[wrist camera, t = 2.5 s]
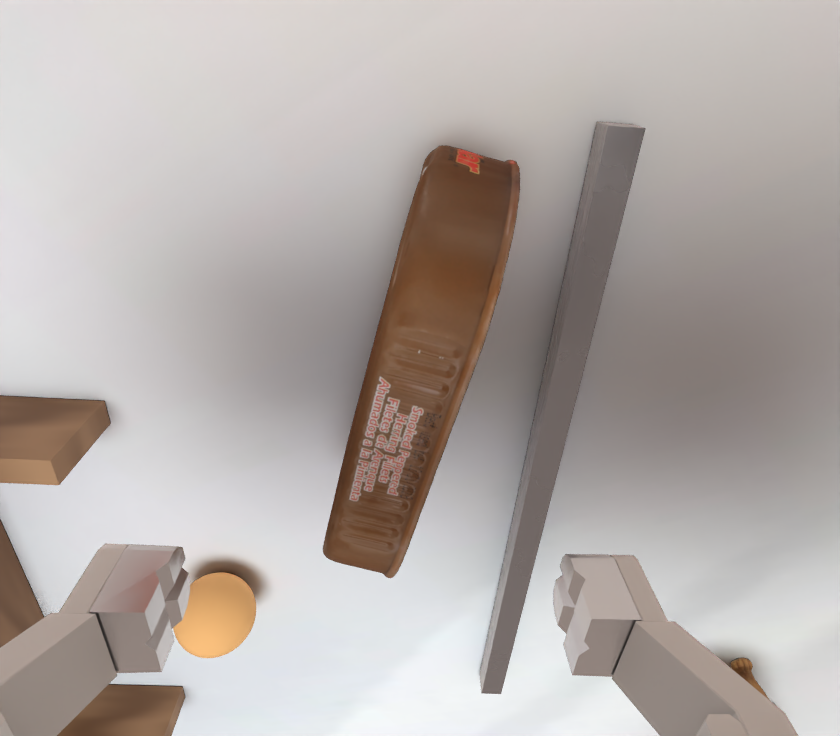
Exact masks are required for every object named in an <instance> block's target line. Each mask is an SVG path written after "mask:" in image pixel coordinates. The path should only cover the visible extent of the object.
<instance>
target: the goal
mask: <svg viewBox="0 0 840 736" xmlns="http://www.w3.org/2000/svg"><path fill="white" fill-rule="evenodd" d="M109 425H110V420H109V416H108V412H107V409H106V405H105V401H94V400H74V399H54V398H34V397H14V396H0V483H23V484H46V485H60V483H61V482H62V481H63V480H64V479H65V477H66V476H67V475H68V474H69V473H70V471H71V470H72V469H73V468H74V467H75V465H76V464H77V463H78V462H79V461H80V459H81V458H82V457H83V456H84V455H85V453H86V452H87V451H88V450H89V449H90V447H91V446H92V445H93V444H94V443H95V441H96V440H97V439H98V438H99V437H100V435H101V434H102V433H103V432H104V431H105V429H106V428H107V427H108V426H109ZM43 618H44V616H43V614H42V612H41V610H40V608H39V605H38V603H37V601H36V599H35V596H34V594H33V592H32V590H31V588H30V585H29V583H28V581H27V579H26V576H25V574H24V572H23V570H22V567H21V565H20V563H19V561H18V559H17V556H16V554H15V552H14V550H13V547H12V545H11V543H10V541H9V539H8V536H7V534H6V532H5V530H4V527H3V525H2V523H1V521H0V648H1V647H2V646H4V645H5V644H6V643H8V642H9V641H11V640H12V639H14V638H15V637H17V636H18V635H20V634H21V633H22V632H24V631H25V630H27V629H28V628H30V627H31V626H33V625H34V624H35V623H37V622H38V621H40V620H41V619H43ZM184 699H185V695H184V691H183V687H175V686H139V685H107V686H106V687H105V688H104V689H103V690H102V691H101V692H100V693H99V694H98V695H97V696H96V697H95V698H94V699H93V700H92V701H91V702H90V703H89V704H88V705H87V706H86V707H85V708H84V709H83V710H82V711H81V712H80V713H79V714H78V715H77V716H76V717H75V718H74V719H73V720H72V721H71V722H70V723H69V724H68V725H67V726H66V727H65V728H64V729H63V730H62V731H61V732H60V733H59V734H58V735H57V736H171V735H172V732H173V730H174V727H175V724H176V721H177V719H178V716H179V713H180V710H181V707H182V705H183V702H184Z"/></svg>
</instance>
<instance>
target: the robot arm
mask: <svg viewBox="0 0 840 736" xmlns="http://www.w3.org/2000/svg"><path fill="white" fill-rule="evenodd" d="M184 560H185V555H184V551H183V548H182V547H177V546H156V545H135V544H105V545H103V546H102V547H101V548H100V549H99V550H98V551H97V552H96V554H95V556H94V557H93V559H92V560H91V562H90V564H89V565H88V567H87V568H86V570H85V571H84V573H83V575H82V576H81V578H80V579H79V581H78V583H77V584H76V586H75V587H74V589H73V591H72V592H71V594H70V595H69V597H68V598H67V600H66V602H65V603H64V605H63V606H62V608H61V610H60V611H59V613H50V614H48V615H47V616H46V617H44V618H43V619H41V620H40V621H38V622H37V623H35V624H34V625H33V626H31V627H30V628H28V629H27V630H25V631H24V632H22V633H21V634H20V635H18V636H17V637H15V638H14V639H12V640H11V641H9V642H8V643H6V644H5V645H4V646H2V647H1V648H0V736H57V735H58V734H59V733H60V732H61V731H62V730H63V729H64V728H65V727H66V726H67V725H68V724H69V723H70V722H71V721H72V720H73V719H74V718H75V717H76V716H77V715H78V714H79V713H80V712H81V711H82V710H83V709H84V708H85V707H86V706H87V705H88V704H89V703H90V702H91V701H92V700H93V699H94V698H95V697H96V696H97V695H98V694H99V693H100V692H101V691H102V690H103V689H104V688H105V687H106V686H107V685H108V684H109V683H110V682H111V681H112V680H113V679H114V678H115V677H116V676H117V673H137V672H162V670H163V667H164V665H165V662H166V660H167V657H168V655H169V652H170V650H171V647H172V645H173V642H174V637H173V633H172V628H173V627H175V626H176V625H177V624H178V623H179V622H181V621H182V619H183V617H184V614H185V611H186V609H187V605H188V600H189V595H190V579H189V573H188V572H186V571H185V570H184V569H183V568H182V565H183V563H184ZM560 568H561V571H562V574H563V575H562V576H560V577H559V578H558V579H557V580H556V582H555V586H554V590H553V605H554V612H555V616H556V620H557V624H558V626H559V627H560V628H561V629H562V630H563V631H564V632H565V633H566V638H565V641H564V644H563V645H564V649H565V652H566V656H567V659H568V662H569V666H570V669H571V673H572V675H584V676H611V677H612V679H613V681H614V682H615V683H616V684H617V685H618V687H619V688H620V689H621V690H622V691H623V692H624V694H625V695H626V696H627V697H628V698H629V700H630V701H631V702H632V703H633V704H634V705H635V707H636V708H637V709H638V710H639V711H640V713H641V714H642V715H643V716H644V717H645V719H646V720H647V721H648V722H649V723H650V724H651V726H652V727H653V728H654V729H655V730H656V732H657V733H658V734H659V735H660V736H798V734H797V733H796V731H795V729H794V728H793V726H792V724H791V723H790V721H789V719H788V717H787V716H786V714H785V713H784V712H783V711H782V710H781V709H779V708H778V707H777V706H776V705H775V704H773V703H772V702H771V701H770V700H769V699H767V698H766V697H765V696H764V695H763V694H761V693H760V692H759V691H758V690H757V689H755V688H754V687H753V686H752V685H751V684H749V683H748V682H747V681H746V680H745V679H743V678H742V677H741V676H740V675H739V674H737V673H736V672H735V671H734V670H732V669H731V668H730V667H729V666H728V665H726V664H725V663H724V662H723V661H722V660H720V659H719V658H718V657H717V656H716V655H714V654H713V653H712V652H711V651H710V650H708V649H707V648H706V647H705V646H704V645H702V644H701V643H700V642H699V641H698V640H696V639H695V638H694V637H693V636H692V635H690V634H689V633H688V632H687V631H686V630H684V629H683V628H682V627H681V626H679V625H678V624H677V623H676V622H671V621H668V620H667V618H666V616H665V614H664V612H663V610H662V608H661V606H660V604H659V602H658V600H657V598H656V596H655V594H654V592H653V590H652V588H651V586H650V584H649V582H648V580H647V578H646V576H645V573H644V571H643V569H642V567H641V565H640V563H639V561H638V559H637V558H636V557H635V556H633V555H601V554H565V555H564V557H563V558H562V561H561V564H560Z"/></svg>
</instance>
